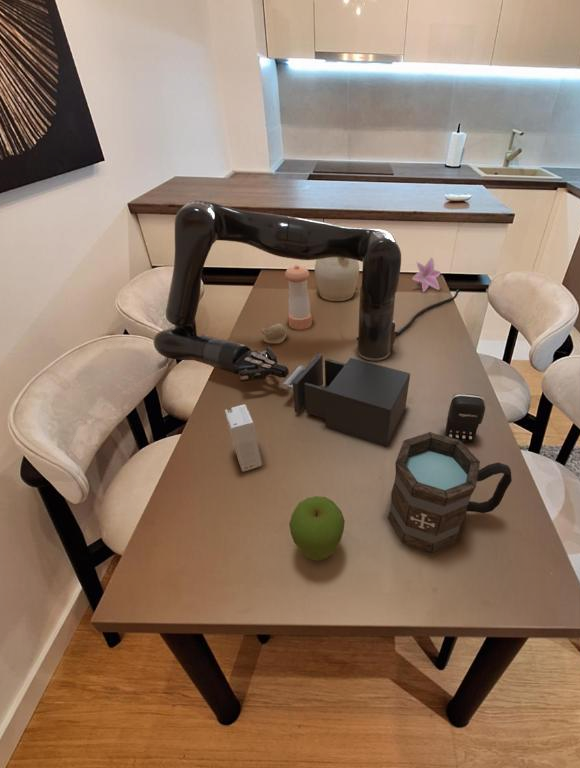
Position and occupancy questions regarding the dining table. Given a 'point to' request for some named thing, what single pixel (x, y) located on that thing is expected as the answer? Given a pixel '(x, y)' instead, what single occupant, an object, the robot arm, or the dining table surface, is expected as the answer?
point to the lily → (427, 275)
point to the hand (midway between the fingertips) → (287, 372)
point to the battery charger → (464, 417)
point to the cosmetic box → (243, 437)
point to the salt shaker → (298, 298)
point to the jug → (336, 276)
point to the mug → (438, 490)
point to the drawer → (312, 385)
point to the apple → (317, 527)
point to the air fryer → (366, 401)
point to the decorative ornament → (274, 334)
